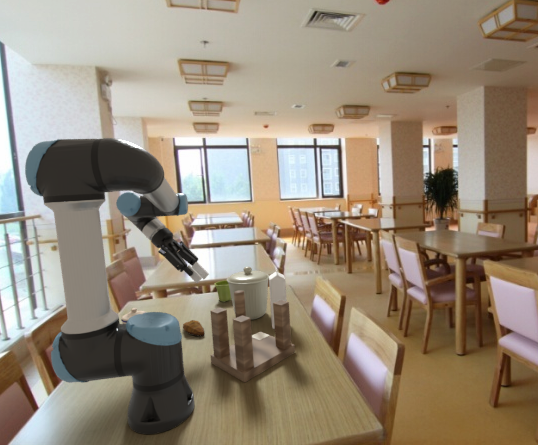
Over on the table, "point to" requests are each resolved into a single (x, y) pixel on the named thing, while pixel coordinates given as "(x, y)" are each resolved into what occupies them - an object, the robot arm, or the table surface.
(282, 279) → the milk
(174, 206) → the robot arm
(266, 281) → the canister
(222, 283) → the plant pot
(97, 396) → the table surface
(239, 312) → the hinged leg
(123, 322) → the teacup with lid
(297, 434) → the table surface
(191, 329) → the croissant
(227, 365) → the stool seat
